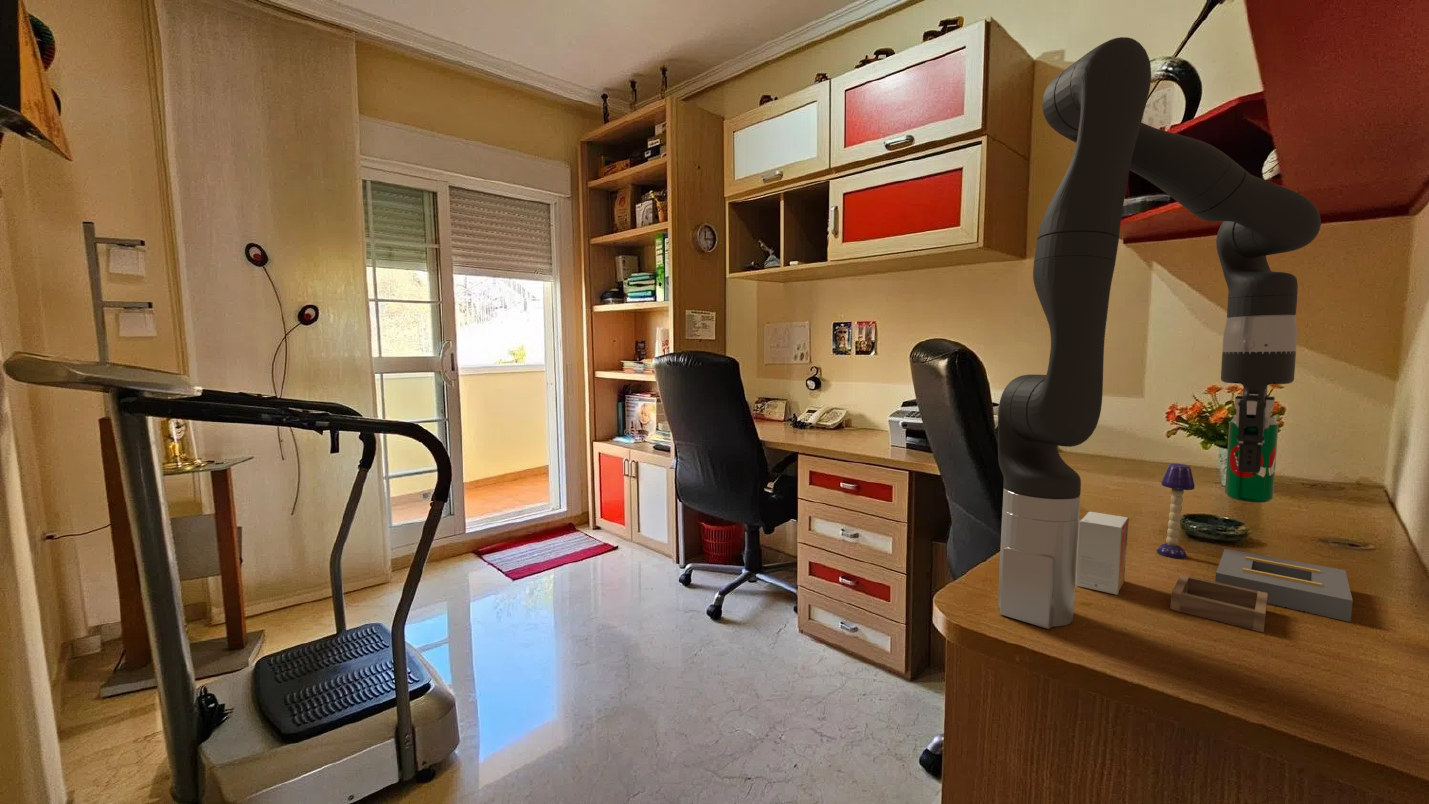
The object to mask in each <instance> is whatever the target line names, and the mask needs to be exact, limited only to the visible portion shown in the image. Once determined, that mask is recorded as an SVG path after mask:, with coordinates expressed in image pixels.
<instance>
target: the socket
mask: <svg viewBox="0 0 1429 804" xmlns="http://www.w3.org/2000/svg"><path fill="white" fill-rule="evenodd" d="M1214 582H1219V583H1223V584H1228V585H1233V586H1237V587H1242V588H1247V589H1251V590H1256V591H1261V592H1265V593H1268V595H1267V605H1272V604H1273V606H1276V605H1277V607H1281V606H1282V607H1283V608H1285V607H1287V608H1286V609H1290V610H1294V609H1295V611H1299V610H1300V612H1303V611H1305V612H1304V613H1308V612H1309V613H1308V614H1313V615H1317V616H1322V617H1327V618H1330V619H1336V620H1340V621H1344V622H1349V623H1351V620H1352V614H1353V613H1352V611H1353V602H1354V599H1353V597H1352V593H1351V587H1350V584H1349V580H1348V575H1347V572H1346V570H1345V569H1340V568H1335V567H1328V566H1323V565H1318V564H1317V565H1316V564H1313V563H1312V564H1311V563H1306V562H1302V561H1295V560H1291V559H1290V560H1289V559H1286V558H1285V559H1284V558H1278V557H1274V556H1269V555H1262V554H1257V553H1252V552H1247V551H1242V550H1241V551H1240V550H1235V549H1228V548H1224V550H1223V553H1222V554H1221V558H1220V561H1219V563H1218V566H1217V569H1216V571H1215V579H1214Z"/></svg>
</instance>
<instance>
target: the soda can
mask: <svg viewBox="0 0 1429 804" xmlns="http://www.w3.org/2000/svg"><path fill="white" fill-rule="evenodd" d="M1264 420H1265V417H1264ZM1235 423H1236V414H1233V415H1232V419H1231V420H1230V421H1229V422H1228V437H1227V438H1228V439H1227V454H1226V455H1227V456H1226V472H1225V473H1226V474H1225V486H1224V487H1225V488H1224V494H1226V496H1228V497H1229V498H1230V499H1233V500H1236V501H1241V502H1249V503H1257V504H1259V503H1268V502H1270V501H1271V500H1272V499H1274V492H1275V490H1274V489H1275V477H1276V464H1277V451H1278V449H1277V448H1278V436H1279V435H1278V434H1279V423H1278V422H1277V421H1276V417H1275V416H1273V415H1271V416H1270V425H1269V429H1268V430H1265V431H1264V440H1265V442H1264V444H1263V446H1262V451H1261V466H1260V471H1259V472H1258V473H1252V472H1242V471H1240V470H1239V468H1238V466H1239V450H1240V444H1239V442H1237V441H1238V439H1237V435H1238V428H1237V427H1236V424H1235ZM1244 433H1254V434H1258V429H1252V428H1246V429H1245V431H1244Z"/></svg>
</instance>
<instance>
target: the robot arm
mask: <svg viewBox="0 0 1429 804" xmlns="http://www.w3.org/2000/svg"><path fill="white" fill-rule="evenodd" d="M1151 65H1152V64H1151V61H1150V57H1149V54H1148V53H1147V50H1146V49H1145V47H1144V46H1143V44H1141V43H1140V42H1139V41H1138V40H1136V39H1135V38H1133V37H1132V38H1131V37H1126V36H1125V37H1122V36H1121V37H1120V36H1119V37H1115V38H1112V39H1108V40H1107V41H1104V42H1103V43H1101V44H1099V45H1098V46H1096V47H1094V48H1093V49H1092V50H1090V51H1088V52H1087V53H1085V54H1084V55H1083V56H1082V57H1080V58H1079V59H1077V60H1076V61H1075V62H1074V63H1072V64H1071V65H1069V66H1068V67H1067V68H1065V69H1064V70H1062V71H1061V72H1060V73H1059V74H1058V75H1056V76H1055V78H1053V79H1052V80H1051V81H1050V83H1049V84H1048V85H1047V87H1046V88H1045V90H1044V92H1043V97H1042V99H1041V101H1042V102H1041V106H1042V107H1041V108H1042V113H1043V116H1044V119H1045V120H1046V122H1047V125H1048V126H1050V128H1052V129H1053V131H1055V132H1056V133H1058V134H1059V135H1061V136H1063V137H1064V138H1066V139H1067V140H1069V141H1071V142H1073V143H1076V144H1075V147H1074V150H1073V154H1072V158H1071V160H1070V163H1069V165H1068V167H1067V170H1066V171H1065V174H1064V176H1063V177H1062V180H1061V181H1060V183H1059V186H1058V188H1057V189H1056V191H1055V193H1054V195H1053V197H1052V198H1051V199H1050V202H1049V204H1048V206H1047V208H1046V210H1045V212H1044V214H1043V218H1042V219H1041V223H1040V225H1039V230H1038V234H1037V239H1036V245H1035V246H1036V247H1035V252H1034V258H1033V259H1034V260H1033V270H1032V279H1033V285H1034V288H1035V292H1036V295H1037V298H1038V301H1039V302H1040V305H1041V308H1042V311H1043V312H1044V315H1045V317H1046V320H1047V324H1048V327H1049V332H1050V333H1049V335H1050V351H1049V359H1048V365H1047V371H1046V374H1024V375H1023V374H1022V375H1020V376H1017V377H1015V378H1014V379H1012V380H1011V381H1010V382H1008V384H1007V385H1006V386H1005V388H1004V389H1003V390H1002V393H1001V396H1000V400H999V404H998V410H997V411H998V412H997V459H998V466H999V469H1000V471H1001V474H1002V477H1003V490H1002V491H1003V493H1002V495H1003V496H1002V511H1001V514H1002V515H1001V527H1000V530H1001V531H1000V533H1001V535H1000V548H999V549H1000V553H999V571H998V595H997V606H998V608H999V615H1002V616H1004V617H1008V618H1011V619H1014V620H1017V621H1020V622H1024V623H1028V624H1031V625H1035V626H1037V627H1040V628H1043V629H1048V630H1049V629H1051V628H1052V627H1061V626H1068V625H1069V624H1071V623H1073V621H1074V610H1075V608H1074V607H1075V594H1076V592H1075V591H1076V567H1077V549H1078V531H1079V521H1080V506H1081V491H1082V490H1081V489H1082V488H1081V487H1082V480H1081V476H1080V475H1079V473H1078V472H1077V471H1076V470H1074V469H1073V468H1072V467H1071V466H1070V465H1068V464H1067V463H1066V462H1065V460H1064V459H1063V458H1062V457H1061V454H1060V453H1059V451H1058V450H1059V449H1058V446H1060V447H1069V448H1071V447H1072V448H1073V447H1076V446H1079V445H1081V444H1083V443H1085V442H1086V441H1088V440H1089V439H1090V437H1091V436H1092V435H1093V434H1094V431H1096V428H1097V425H1098V422H1099V419H1100V417H1101V413H1102V412H1101V411H1102V404H1103V392H1104V391H1103V390H1104V389H1103V388H1104V386H1103V385H1104V359H1105V356H1104V355H1105V341H1106V339H1105V337H1106V327H1107V319H1108V311H1109V302H1110V295H1111V287H1112V282H1113V278H1114V277H1113V275H1114V272H1115V268H1116V263H1117V254H1118V249H1119V241H1120V233H1121V222H1122V216H1123V208H1124V204H1125V203H1124V202H1125V198H1126V192H1127V187H1128V182H1129V181H1128V180H1129V175H1130V172H1132V173H1134V174H1136V175H1138V176H1140V177H1141V178H1143V179H1145V180H1146V181H1148V182H1149V183H1151V184H1152V185H1154V186H1156V187H1157V188H1159V189H1160V190H1161V191H1163V192H1164V193H1166V194H1167V195H1168V196H1169V197H1171V198H1172V199H1173V200H1175V201H1176V202H1177V203H1178V204H1179V205H1181V206H1182V207H1183V208H1184V209H1186V210H1187V211H1189V212H1190V213H1191V214H1193V215H1194V216H1195V217H1197V218H1199V219H1201V220H1202V221H1205V222H1211V223H1212V222H1213V223H1214V222H1216V223H1217V222H1221V224H1220V227H1219V228H1218V230H1217V234H1216V239H1215V243H1216V251H1217V256H1218V258H1219V259H1218V260H1219V262H1220V266H1221V269H1222V273H1223V276H1224V279H1225V283H1226V287H1227V289H1228V292H1227V293H1228V294H1227V309H1226V310H1227V311H1226V320H1225V321H1226V322H1225V326H1224V329H1223V330H1224V331H1223V338H1222V355H1221V366H1220V367H1221V369H1220V380H1221V382H1223V383H1226V384H1239V385H1242V387H1243V390H1242V395H1239V394H1238V395H1236V396H1235V397H1234V398H1235V399H1234V408H1235V409H1236V413H1235V415H1236V423H1235V424H1236V427H1237V428H1238V435H1237V439H1238V441H1237V442H1239V444H1240V450H1239V466H1238V468H1239V470H1240V471H1242V472H1252V473H1258V472H1259V471H1260V466H1261V451H1262V446H1263V444H1264V442H1265V440H1264V431H1265V430H1268V429H1269V425H1270V416H1272V412H1273V410H1274V408H1275V403H1276V402H1275V399H1276V397H1275V396H1271V395H1270V396H1269V394H1268V386H1269V385H1288V384H1292V383H1293V382H1294V380H1295V374H1296V373H1295V370H1296V357H1297V344H1298V343H1297V342H1298V326H1297V308H1298V307H1297V306H1298V305H1297V303H1298V293H1299V292H1298V287H1299V285H1298V279H1297V277H1296V276H1295V275H1294V274H1292V273H1289V272H1284V271H1272V270H1271V268H1270V265H1269V263H1268V259H1267V256H1272V255H1277V254H1284V253H1289V252H1290V253H1291V252H1293V251H1294V252H1295V251H1297V250H1299V249H1302V248H1305V246H1308V245H1310V244H1311V242H1313V241H1314V240H1315V239H1316V237H1317V236H1318V235H1319V233H1320V230H1321V226H1322V220H1321V218H1322V217H1321V215H1320V212H1319V210H1318V209H1317V207H1316V205H1315V204H1314V203H1313V202H1312V201H1311V200H1309V198H1307V197H1306V196H1304V195H1302V194H1300V193H1299V192H1296V191H1295V190H1292V189H1289V188H1287V187H1285V186H1282V185H1279V184H1277V183H1274V182H1272V181H1270V180H1267V179H1265V178H1261V177H1258V176H1255V175H1253V174H1251V173H1250V172H1248V171H1247V170H1246V169H1245V168H1244V167H1242V166H1241V165H1240V164H1239V163H1237V162H1236V161H1235V160H1233V158H1231V157H1230V156H1229V155H1227V154H1226V153H1225V152H1223V151H1222V150H1221V149H1219V148H1217V147H1215V146H1214V145H1212V144H1209V143H1207V142H1205V141H1203V140H1200V139H1196V138H1193V137H1190V136H1186V135H1182V134H1179V133H1173V132H1170V131H1167V130H1163V129H1159V128H1156V127H1154V126H1151V125H1149V124H1147V123H1144V122H1142V121H1143V118H1144V117H1143V116H1144V113H1145V111H1146V107H1147V103H1148V98H1149V94H1150V91H1151V84H1152V83H1151V82H1152V66H1151ZM1264 417H1265V420H1264ZM1246 428H1252V429H1258V434H1254V433H1244V431H1245V429H1246Z"/></svg>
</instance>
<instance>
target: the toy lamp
mask: <svg viewBox="0 0 1429 804" xmlns="http://www.w3.org/2000/svg"><path fill="white" fill-rule="evenodd" d="M1195 485H1196V484H1195V481H1194V476H1193V473H1192V469H1191V467H1190V465H1187V464H1184V463H1183V464H1182V463H1170V464H1168V466H1167V469H1166V471H1165V473H1164V476H1163V478H1162V480H1161V486H1163V487H1165V488H1168V489H1169V488H1170V489H1171V490H1170V491H1171V492H1170V493H1171V496H1170V502H1171V503H1170V505H1169V510H1170V512H1169V514H1168V518H1169V520H1168V522H1167V526H1168V529H1167V531H1166V534H1167V535H1166V536H1167V537H1166V539H1165V541H1166V543H1162V544H1160V545H1159V546H1158V547H1157V549H1156V553H1157V554H1159V555H1160V556H1164V557H1167V558H1171V559H1186V558H1187V552H1186V550H1185V549H1184V548H1183V547H1182V546H1180V545H1179V538H1178V537H1179V536H1180V528H1181V519H1182V513H1181V512H1182V511H1183V510H1182V509H1183V505H1182V504H1183V501H1184V499H1183V495H1184V491H1193V490H1195Z"/></svg>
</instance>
